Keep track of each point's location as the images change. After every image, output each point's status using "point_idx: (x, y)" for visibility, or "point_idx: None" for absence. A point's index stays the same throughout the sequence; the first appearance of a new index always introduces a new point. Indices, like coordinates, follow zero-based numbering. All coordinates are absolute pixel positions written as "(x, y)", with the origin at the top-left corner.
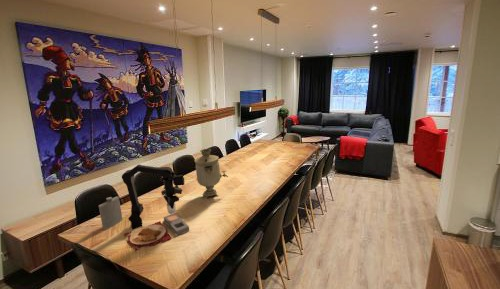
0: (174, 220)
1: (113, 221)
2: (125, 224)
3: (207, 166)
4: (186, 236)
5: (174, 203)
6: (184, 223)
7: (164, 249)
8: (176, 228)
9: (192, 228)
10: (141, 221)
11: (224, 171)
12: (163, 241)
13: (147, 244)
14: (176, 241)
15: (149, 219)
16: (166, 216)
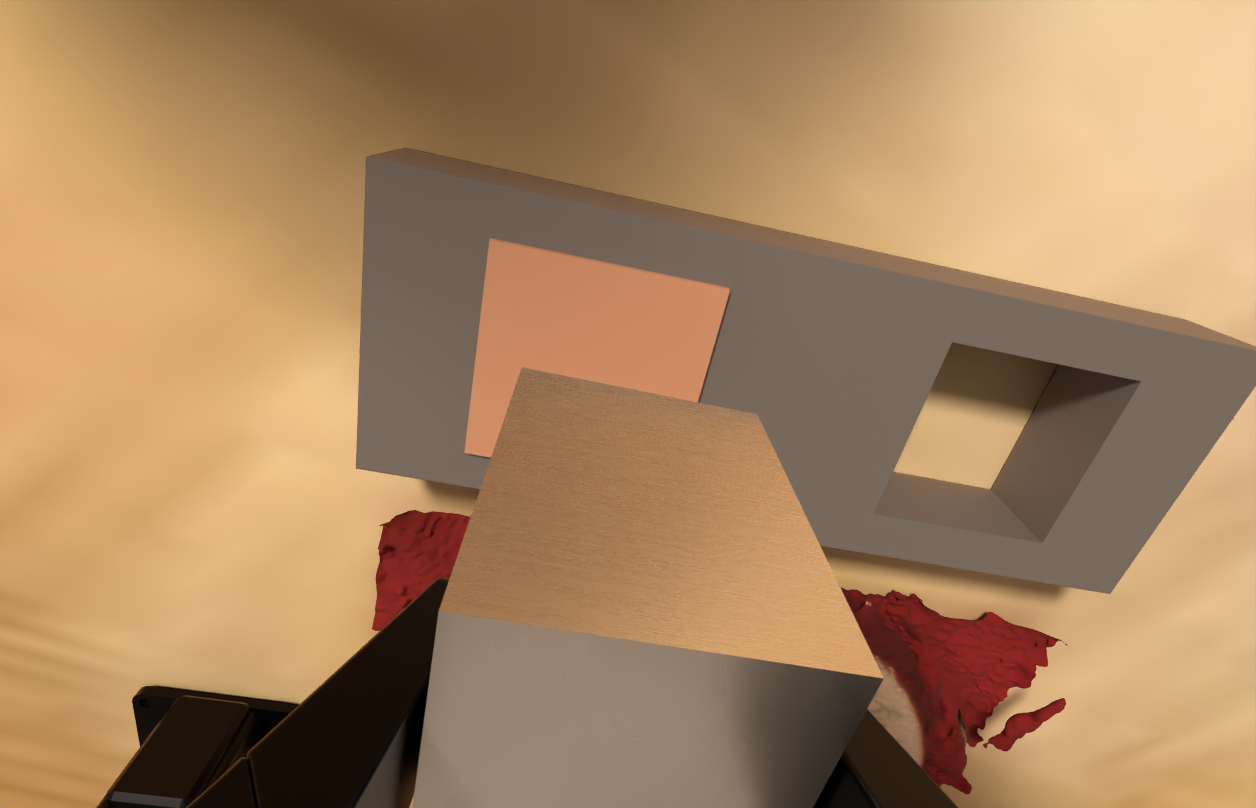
0: (730, 405)
1: None
2: (59, 800)
3: None
4: (1245, 461)
5: (762, 664)
6: (1076, 339)
7: (1117, 761)
8: (1041, 546)
9: (1203, 224)
10: (221, 759)
11: None
12: (969, 704)
13: None
14: (1161, 613)
15: (115, 554)
16: (375, 415)
